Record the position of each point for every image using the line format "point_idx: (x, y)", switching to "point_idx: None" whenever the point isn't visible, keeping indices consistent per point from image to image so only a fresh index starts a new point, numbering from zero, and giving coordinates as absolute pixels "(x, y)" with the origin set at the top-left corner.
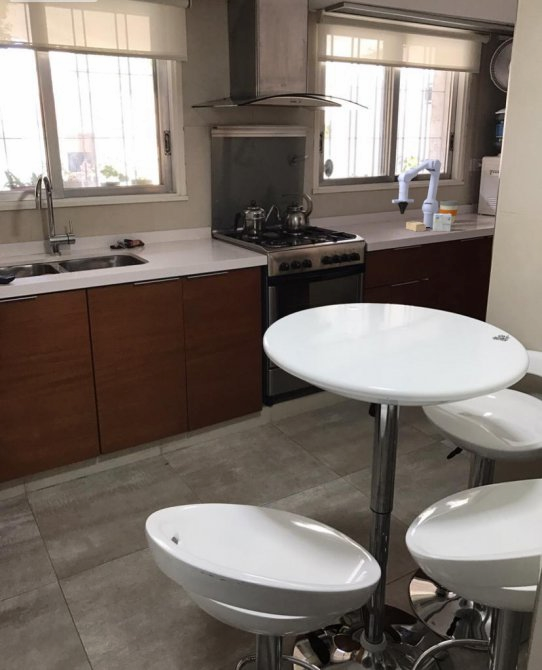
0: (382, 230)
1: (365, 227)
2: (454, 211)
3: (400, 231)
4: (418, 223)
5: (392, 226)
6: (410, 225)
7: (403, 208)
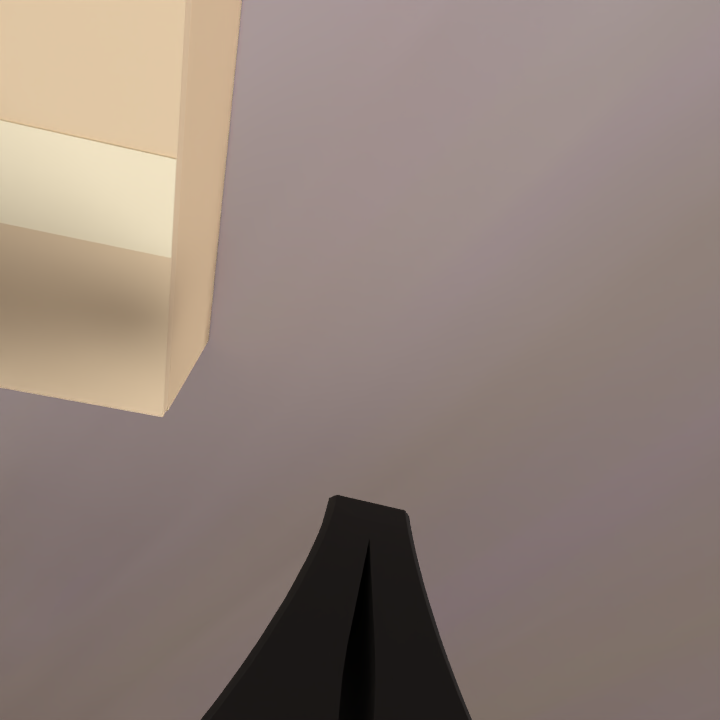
0: (709, 431)
1: (624, 696)
2: None
3: (544, 153)
4: (14, 8)
5: (237, 596)
6: (190, 223)
7: (382, 703)
